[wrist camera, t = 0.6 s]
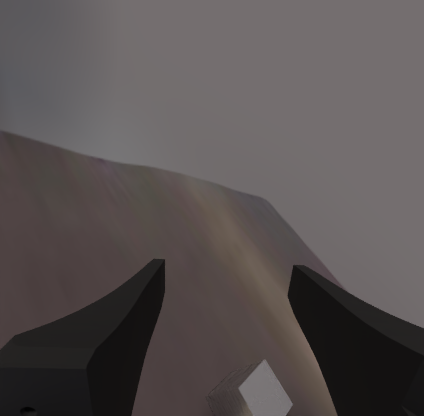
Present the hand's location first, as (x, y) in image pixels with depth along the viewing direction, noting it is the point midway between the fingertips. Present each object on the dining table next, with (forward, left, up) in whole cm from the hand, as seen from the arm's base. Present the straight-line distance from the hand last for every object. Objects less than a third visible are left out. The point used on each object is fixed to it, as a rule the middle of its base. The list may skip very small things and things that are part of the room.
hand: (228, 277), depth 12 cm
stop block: (-4, -9, -18) cm, 21 cm away
